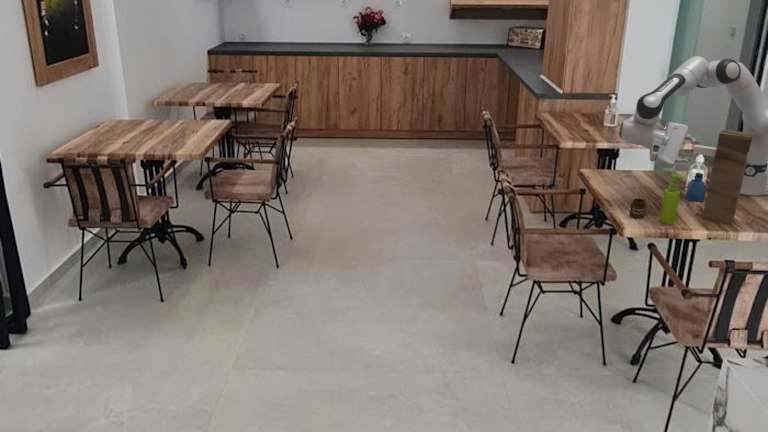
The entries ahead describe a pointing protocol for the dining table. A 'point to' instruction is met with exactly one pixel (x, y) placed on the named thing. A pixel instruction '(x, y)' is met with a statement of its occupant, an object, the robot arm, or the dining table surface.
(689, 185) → the perfume bottle
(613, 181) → the dining table surface
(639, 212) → the utensil holder
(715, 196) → the stand
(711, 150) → the rod
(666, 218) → the soap dispenser
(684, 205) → the dining table surface
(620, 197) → the dining table surface
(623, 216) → the dining table surface
